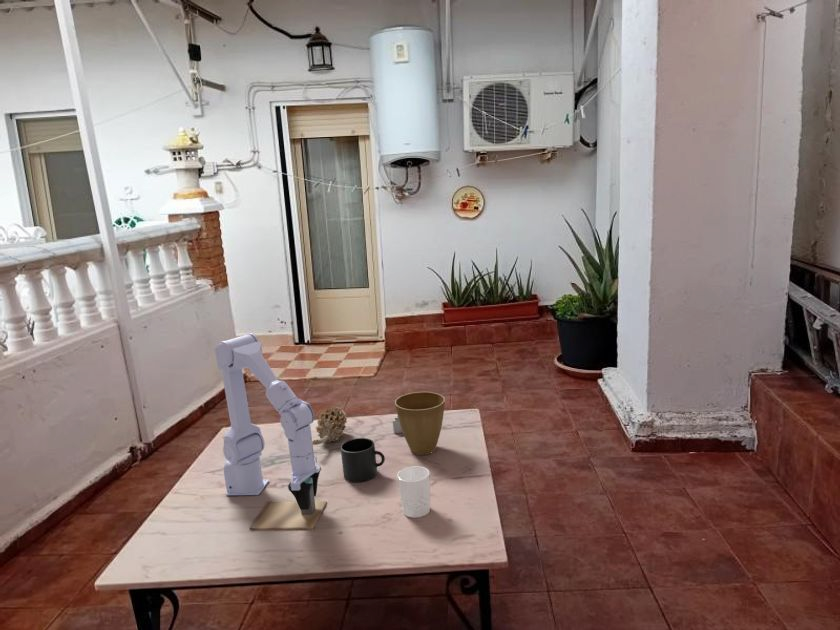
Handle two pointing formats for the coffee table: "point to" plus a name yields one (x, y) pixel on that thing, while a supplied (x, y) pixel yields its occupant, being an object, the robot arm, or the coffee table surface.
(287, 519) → the tan rectangular board
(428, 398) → the plant pot
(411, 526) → the coffee table surface
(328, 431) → the pine cone
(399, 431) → the lighter
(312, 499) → the teal block
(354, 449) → the mug
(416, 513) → the white cup
